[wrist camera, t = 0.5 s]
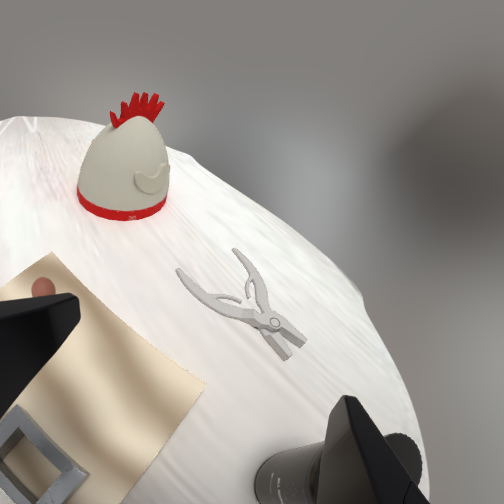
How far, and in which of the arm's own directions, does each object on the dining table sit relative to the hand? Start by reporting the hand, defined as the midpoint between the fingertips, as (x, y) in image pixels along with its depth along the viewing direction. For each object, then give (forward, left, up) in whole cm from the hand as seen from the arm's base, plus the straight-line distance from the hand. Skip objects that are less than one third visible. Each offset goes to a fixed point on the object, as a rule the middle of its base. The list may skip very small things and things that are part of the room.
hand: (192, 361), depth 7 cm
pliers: (+17, 0, -16) cm, 23 cm away
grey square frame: (-10, +5, -14) cm, 17 cm away
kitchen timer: (+21, +24, -15) cm, 36 cm away
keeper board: (-4, +9, -15) cm, 18 cm away
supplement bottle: (+1, -12, -15) cm, 20 cm away
